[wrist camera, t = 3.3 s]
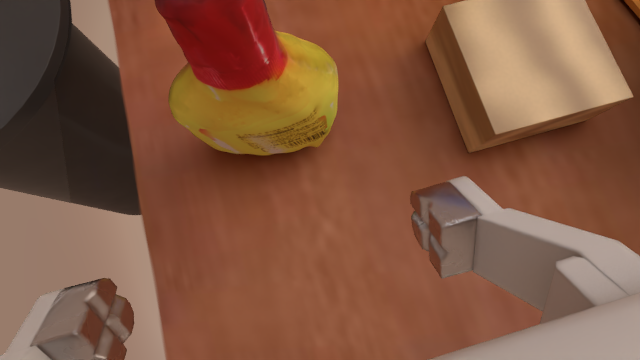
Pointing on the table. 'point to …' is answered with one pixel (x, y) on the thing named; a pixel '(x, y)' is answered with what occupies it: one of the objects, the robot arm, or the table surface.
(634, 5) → the pencil
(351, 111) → the table surface
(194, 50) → the bottle
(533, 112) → the birch block
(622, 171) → the table surface
